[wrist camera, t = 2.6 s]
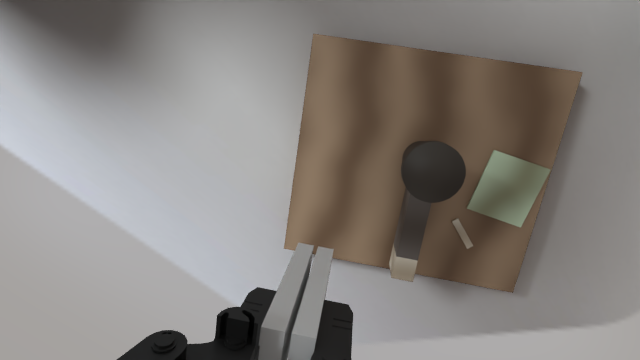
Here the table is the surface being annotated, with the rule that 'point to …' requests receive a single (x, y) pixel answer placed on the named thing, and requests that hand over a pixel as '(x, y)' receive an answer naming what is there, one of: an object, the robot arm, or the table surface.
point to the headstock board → (425, 125)
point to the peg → (422, 198)
